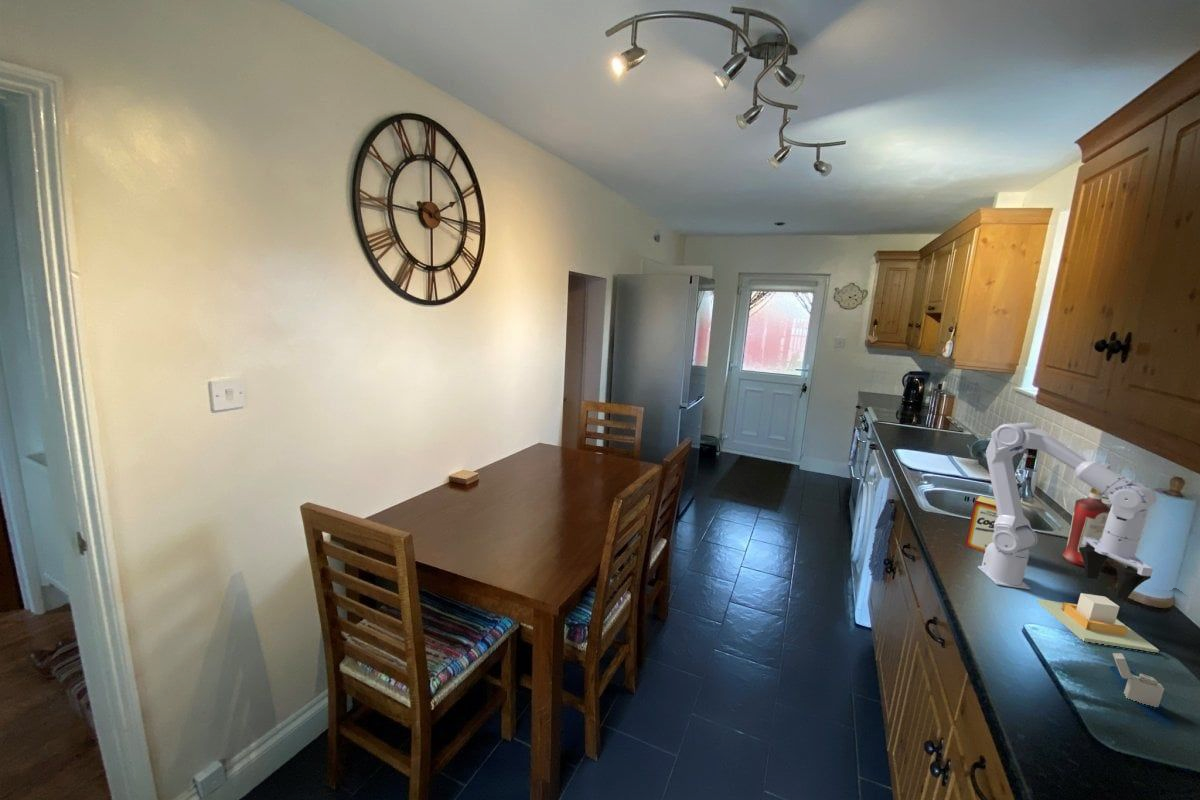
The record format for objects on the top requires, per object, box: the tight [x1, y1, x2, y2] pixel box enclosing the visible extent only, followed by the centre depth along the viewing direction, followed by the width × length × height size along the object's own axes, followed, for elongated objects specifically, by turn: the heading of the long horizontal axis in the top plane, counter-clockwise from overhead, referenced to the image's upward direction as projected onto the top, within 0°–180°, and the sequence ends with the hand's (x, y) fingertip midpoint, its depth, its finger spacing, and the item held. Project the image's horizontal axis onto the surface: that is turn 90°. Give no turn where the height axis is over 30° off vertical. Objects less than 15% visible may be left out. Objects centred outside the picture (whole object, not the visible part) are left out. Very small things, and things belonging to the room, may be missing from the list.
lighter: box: [1111, 652, 1165, 708], centre depth 90 cm, size 7×2×8 cm, turn 56°
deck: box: [1037, 598, 1160, 653], centre depth 112 cm, size 15×14×3 cm
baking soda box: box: [964, 495, 998, 553], centre depth 147 cm, size 10×6×16 cm
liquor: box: [1062, 487, 1111, 568], centre depth 141 cm, size 7×7×28 cm
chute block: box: [1076, 592, 1120, 624], centre depth 111 cm, size 4×5×6 cm
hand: (1105, 586), depth 112 cm, fingers open, 7 cm apart
